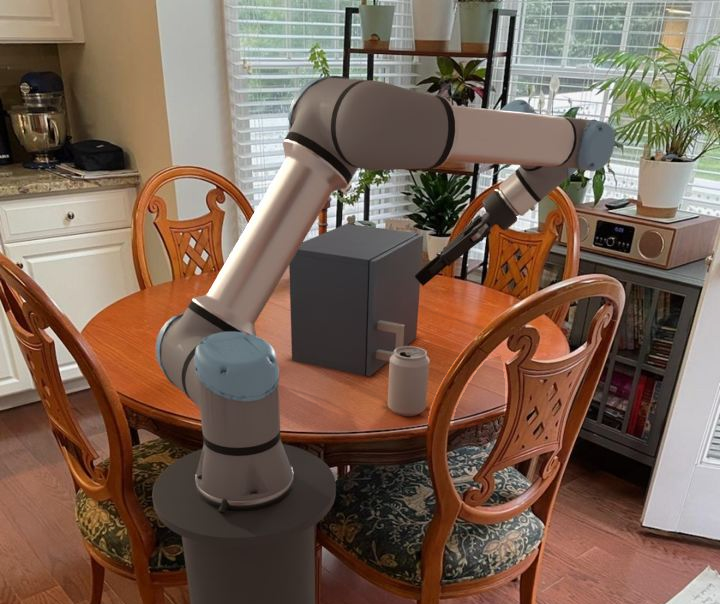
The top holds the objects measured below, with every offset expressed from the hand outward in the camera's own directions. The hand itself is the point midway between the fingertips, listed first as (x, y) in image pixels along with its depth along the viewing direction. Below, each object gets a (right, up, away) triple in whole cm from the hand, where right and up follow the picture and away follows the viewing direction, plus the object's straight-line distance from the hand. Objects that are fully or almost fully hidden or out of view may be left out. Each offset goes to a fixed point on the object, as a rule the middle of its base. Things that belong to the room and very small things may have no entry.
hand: (419, 280), depth 152 cm
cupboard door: (-3, -15, +8) cm, 17 cm away
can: (-4, -29, -14) cm, 32 cm away
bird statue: (-21, +19, +63) cm, 69 cm away
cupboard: (-14, -12, +13) cm, 23 cm away
